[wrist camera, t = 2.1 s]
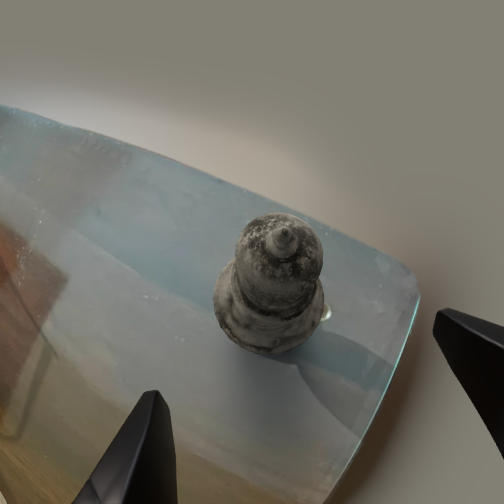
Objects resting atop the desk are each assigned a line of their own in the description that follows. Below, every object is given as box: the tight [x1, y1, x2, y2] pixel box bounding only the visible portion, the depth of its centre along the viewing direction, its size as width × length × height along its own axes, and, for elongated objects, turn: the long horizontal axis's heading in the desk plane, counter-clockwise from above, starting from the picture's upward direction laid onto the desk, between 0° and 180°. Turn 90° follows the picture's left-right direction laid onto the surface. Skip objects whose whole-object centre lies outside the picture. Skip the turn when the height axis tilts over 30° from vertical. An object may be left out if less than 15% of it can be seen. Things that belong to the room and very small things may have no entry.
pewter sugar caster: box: [213, 213, 324, 354], centre depth 14 cm, size 6×6×12 cm
